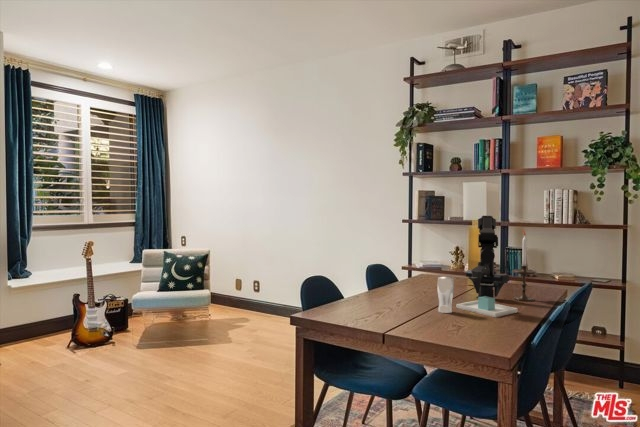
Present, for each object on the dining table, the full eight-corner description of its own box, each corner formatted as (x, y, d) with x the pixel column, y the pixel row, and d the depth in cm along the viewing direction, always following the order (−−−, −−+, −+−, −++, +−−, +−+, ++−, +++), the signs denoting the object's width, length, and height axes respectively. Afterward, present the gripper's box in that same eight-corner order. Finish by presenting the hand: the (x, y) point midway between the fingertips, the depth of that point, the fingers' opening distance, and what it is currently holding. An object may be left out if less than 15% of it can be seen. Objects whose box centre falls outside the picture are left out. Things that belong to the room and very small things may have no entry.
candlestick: (512, 300, 221) (513, 229, 220) (511, 296, 231) (512, 228, 230) (536, 302, 217) (537, 230, 216) (535, 298, 227) (536, 229, 226)
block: (478, 308, 201) (478, 297, 201) (485, 307, 204) (485, 296, 204) (487, 310, 197) (487, 299, 197) (494, 309, 200) (494, 298, 200)
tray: (456, 308, 204) (456, 304, 204) (478, 303, 213) (478, 300, 213) (495, 317, 188) (495, 313, 188) (517, 312, 197) (517, 308, 197)
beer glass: (453, 310, 199) (454, 276, 199) (453, 314, 192) (453, 279, 192) (437, 309, 201) (438, 276, 201) (436, 312, 195) (436, 278, 194)
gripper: (458, 258, 203) (457, 293, 203) (494, 263, 187) (494, 300, 188) (473, 257, 209) (473, 290, 209) (510, 261, 194) (509, 297, 194)
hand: (486, 295), depth 200 cm, fingers open, 9 cm apart
